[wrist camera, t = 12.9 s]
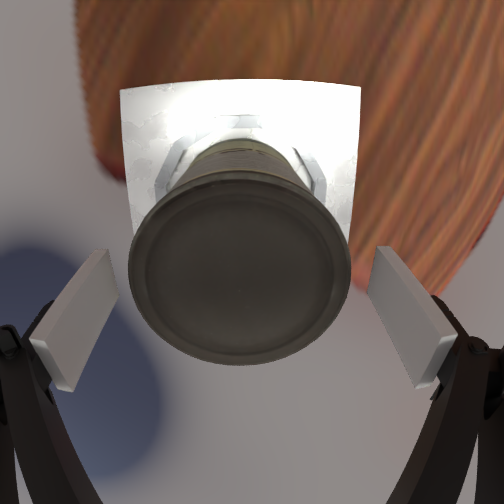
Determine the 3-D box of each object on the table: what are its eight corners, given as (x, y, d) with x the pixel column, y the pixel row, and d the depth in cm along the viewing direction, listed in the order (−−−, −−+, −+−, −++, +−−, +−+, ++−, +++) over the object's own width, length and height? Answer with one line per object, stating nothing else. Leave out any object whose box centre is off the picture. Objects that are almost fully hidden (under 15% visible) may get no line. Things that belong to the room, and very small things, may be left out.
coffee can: (322, 207, 27) (385, 300, 15) (230, 270, 30) (225, 390, 17) (251, 111, 23) (263, 118, 11) (156, 187, 26) (86, 270, 13)
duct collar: (124, 90, 23) (113, 89, 20) (356, 87, 23) (367, 86, 21) (147, 289, 32) (141, 303, 29) (337, 286, 32) (343, 300, 30)
